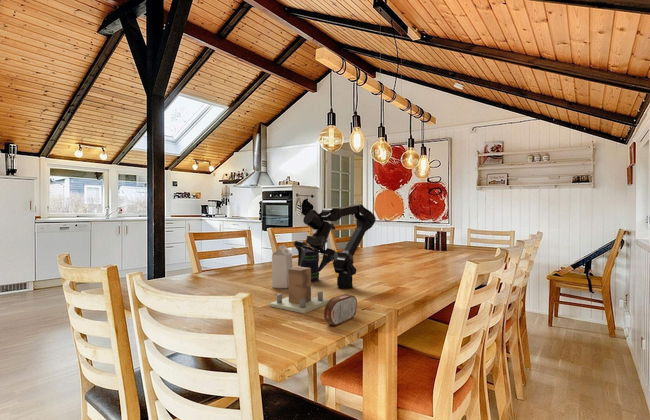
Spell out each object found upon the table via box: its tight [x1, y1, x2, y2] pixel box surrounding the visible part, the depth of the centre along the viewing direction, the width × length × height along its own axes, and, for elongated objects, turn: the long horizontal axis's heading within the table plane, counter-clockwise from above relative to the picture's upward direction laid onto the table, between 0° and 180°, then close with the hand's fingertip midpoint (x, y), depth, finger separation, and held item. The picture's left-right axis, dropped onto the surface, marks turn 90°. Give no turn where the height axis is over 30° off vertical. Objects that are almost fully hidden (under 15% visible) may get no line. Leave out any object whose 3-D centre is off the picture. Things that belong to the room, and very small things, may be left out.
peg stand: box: [269, 291, 330, 314], centre depth 136 cm, size 16×16×4 cm
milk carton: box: [271, 244, 293, 289], centre depth 165 cm, size 7×7×19 cm
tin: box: [323, 293, 358, 326], centre depth 116 cm, size 15×3×8 cm, turn 141°
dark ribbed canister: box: [299, 250, 320, 283], centre depth 179 cm, size 10×10×15 cm
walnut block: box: [288, 266, 312, 304], centre depth 136 cm, size 6×6×12 cm
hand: (308, 268), depth 148 cm, fingers open, 9 cm apart
